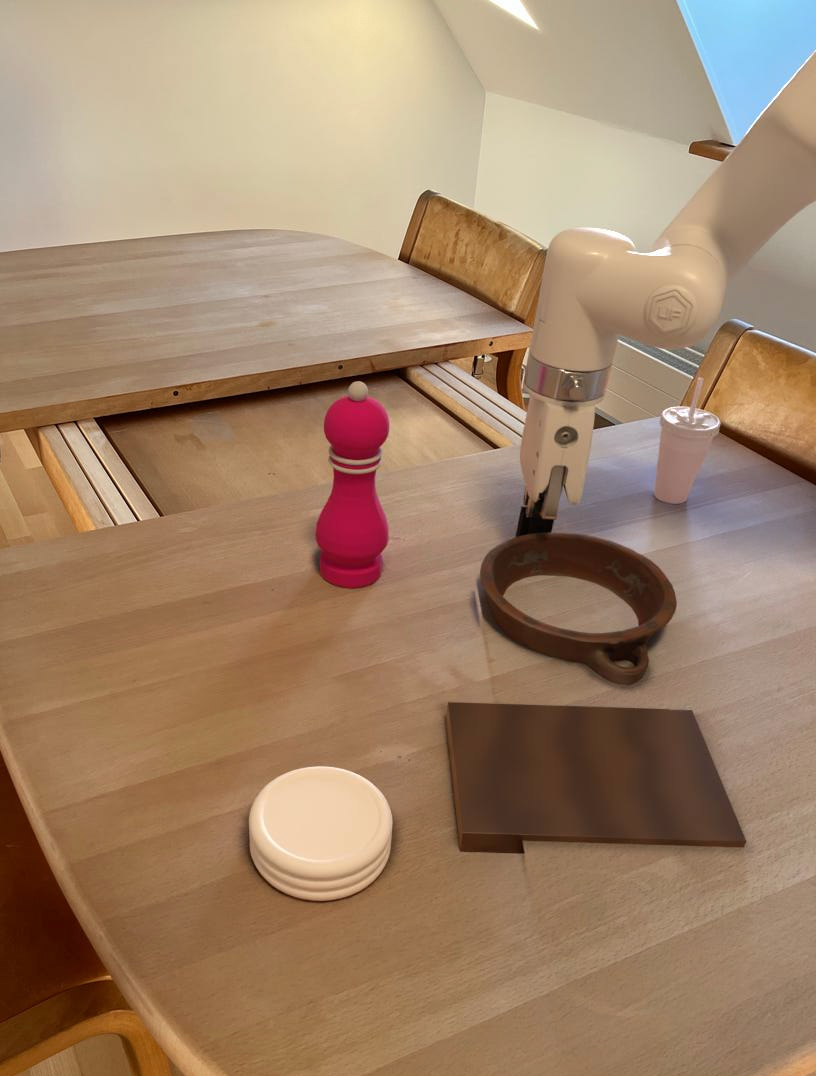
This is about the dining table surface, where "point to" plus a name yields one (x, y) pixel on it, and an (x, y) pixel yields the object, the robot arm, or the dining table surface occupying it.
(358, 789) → the coaster
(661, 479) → the smoothie
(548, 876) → the dining table surface
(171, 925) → the dining table surface
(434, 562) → the dining table surface
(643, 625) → the dish
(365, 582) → the pepper mill
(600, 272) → the robot arm
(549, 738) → the cutting board
